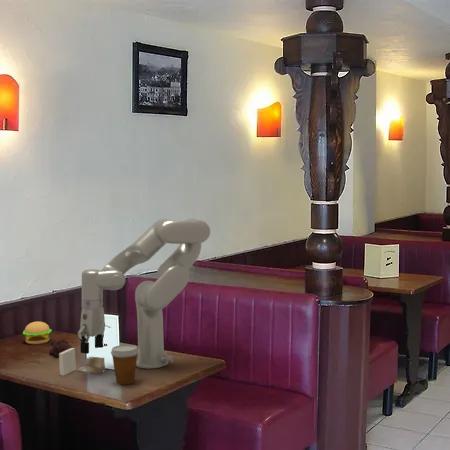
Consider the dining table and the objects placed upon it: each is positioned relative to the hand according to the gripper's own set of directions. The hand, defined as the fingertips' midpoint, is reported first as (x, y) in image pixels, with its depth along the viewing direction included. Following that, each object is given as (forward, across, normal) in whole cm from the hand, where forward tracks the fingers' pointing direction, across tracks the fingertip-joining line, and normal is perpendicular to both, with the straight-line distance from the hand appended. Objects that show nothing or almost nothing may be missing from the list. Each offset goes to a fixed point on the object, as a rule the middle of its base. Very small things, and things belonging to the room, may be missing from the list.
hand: (91, 350), depth 260 cm
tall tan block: (+8, +1, +1) cm, 8 cm away
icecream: (+9, +15, +23) cm, 29 cm away
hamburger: (+9, +32, +46) cm, 57 cm away
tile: (+9, -2, +8) cm, 12 cm away
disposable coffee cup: (+8, -7, -18) cm, 20 cm away
